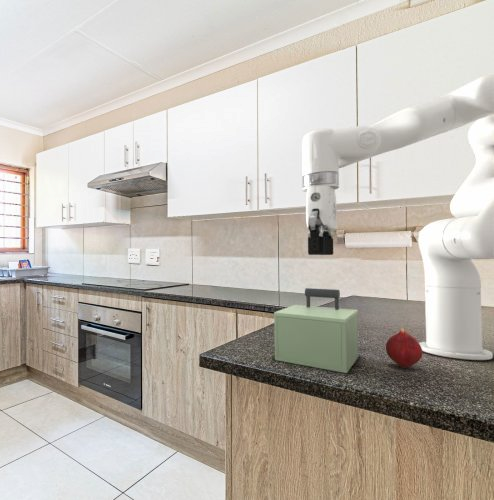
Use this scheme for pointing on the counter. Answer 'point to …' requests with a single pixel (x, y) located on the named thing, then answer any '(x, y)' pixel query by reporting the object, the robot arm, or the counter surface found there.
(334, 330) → the chest
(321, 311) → the lid
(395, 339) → the onion
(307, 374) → the counter surface
